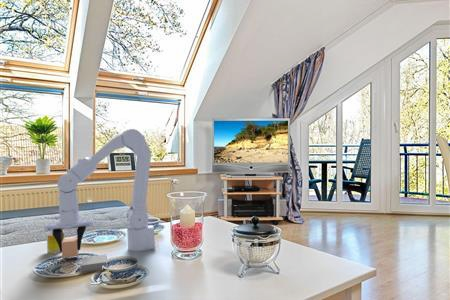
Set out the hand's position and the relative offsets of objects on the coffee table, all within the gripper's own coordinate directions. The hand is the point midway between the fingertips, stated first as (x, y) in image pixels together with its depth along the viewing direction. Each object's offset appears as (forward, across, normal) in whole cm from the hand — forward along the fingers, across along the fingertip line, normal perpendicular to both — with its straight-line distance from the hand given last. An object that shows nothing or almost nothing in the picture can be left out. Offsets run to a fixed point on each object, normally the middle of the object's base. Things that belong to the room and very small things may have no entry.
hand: (70, 250), depth 106 cm
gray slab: (+3, +8, -11) cm, 14 cm away
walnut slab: (+5, +8, -11) cm, 14 cm away
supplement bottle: (+4, -6, +11) cm, 13 cm away
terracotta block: (+2, 0, 0) cm, 2 cm away
